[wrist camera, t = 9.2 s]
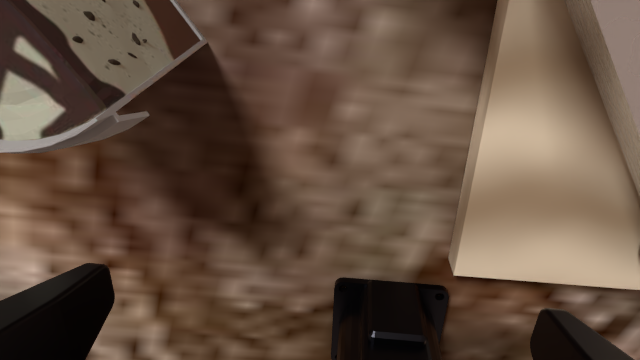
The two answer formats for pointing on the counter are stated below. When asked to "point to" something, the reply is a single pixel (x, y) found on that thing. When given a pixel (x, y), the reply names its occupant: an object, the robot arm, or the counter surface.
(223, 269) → the counter surface
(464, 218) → the base board
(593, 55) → the lever
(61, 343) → the robot arm
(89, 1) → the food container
